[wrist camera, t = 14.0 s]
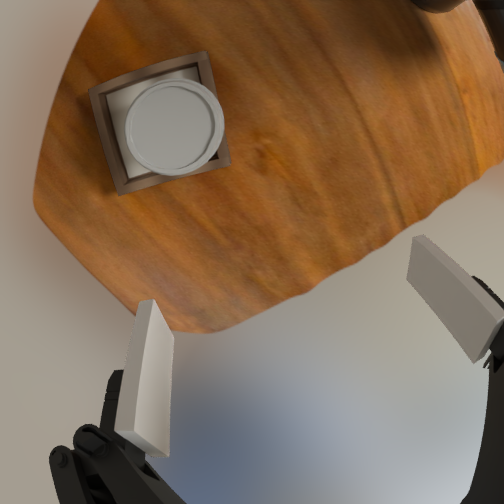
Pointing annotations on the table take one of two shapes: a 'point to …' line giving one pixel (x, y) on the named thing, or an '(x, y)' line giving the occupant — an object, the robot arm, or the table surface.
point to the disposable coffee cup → (174, 126)
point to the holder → (115, 110)
